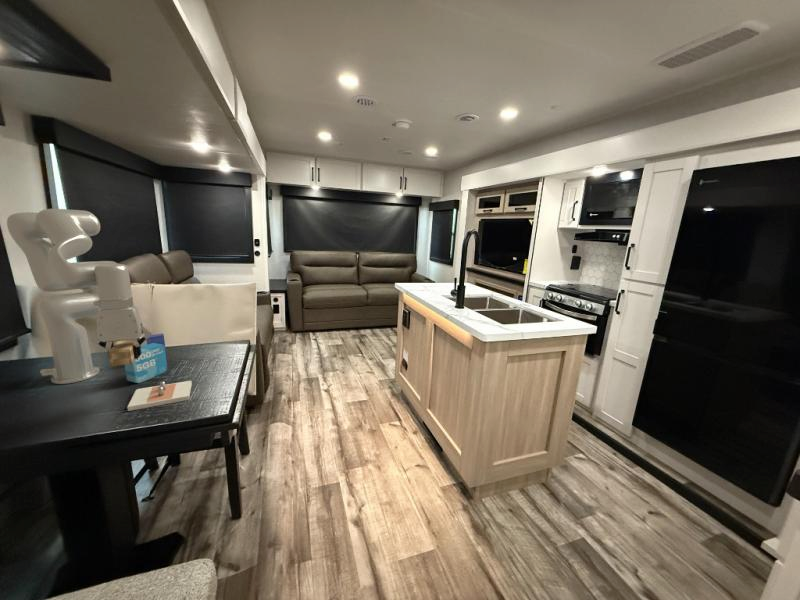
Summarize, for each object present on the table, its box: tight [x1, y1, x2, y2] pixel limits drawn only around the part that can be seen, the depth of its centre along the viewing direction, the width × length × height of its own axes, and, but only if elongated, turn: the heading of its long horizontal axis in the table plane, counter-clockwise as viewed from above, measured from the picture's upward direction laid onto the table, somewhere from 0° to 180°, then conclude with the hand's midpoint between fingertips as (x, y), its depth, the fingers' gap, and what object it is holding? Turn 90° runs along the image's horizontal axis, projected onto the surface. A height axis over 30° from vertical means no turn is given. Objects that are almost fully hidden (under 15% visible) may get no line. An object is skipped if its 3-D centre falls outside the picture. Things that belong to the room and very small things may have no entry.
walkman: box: [139, 332, 168, 361], centre depth 130 cm, size 8×3×12 cm, turn 132°
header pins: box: [158, 380, 166, 396], centre depth 105 cm, size 1×5×3 cm, turn 30°
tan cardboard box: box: [107, 340, 135, 367], centre depth 98 cm, size 5×9×5 cm, turn 28°
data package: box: [124, 343, 168, 384], centre depth 117 cm, size 12×4×12 cm, turn 165°
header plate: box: [126, 380, 193, 412], centre depth 106 cm, size 16×12×2 cm
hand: (126, 358), depth 98 cm, fingers closed on tan cardboard box, 5 cm apart
